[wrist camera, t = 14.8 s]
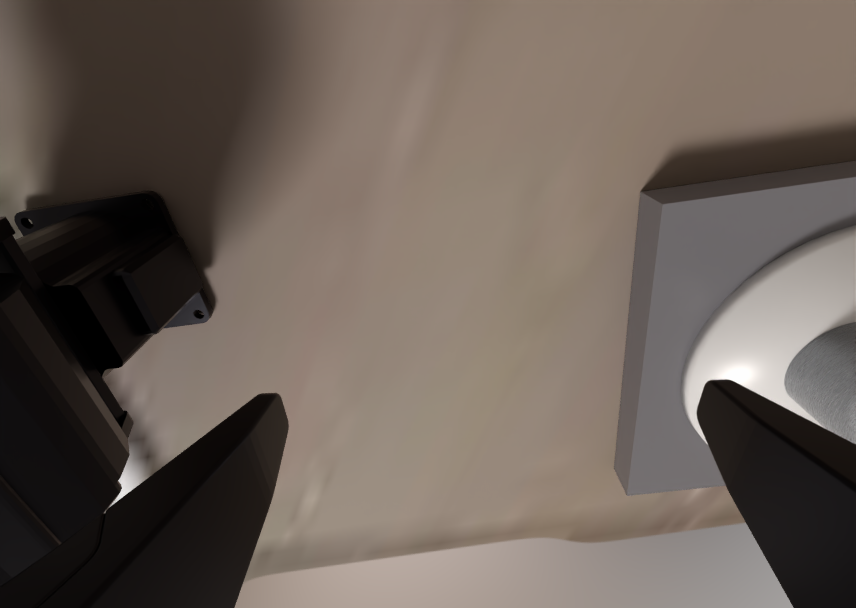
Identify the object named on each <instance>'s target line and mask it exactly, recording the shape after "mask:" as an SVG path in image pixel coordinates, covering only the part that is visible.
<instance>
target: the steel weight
mask: <svg viewBox="0 0 856 608" xmlns="http://www.w3.org/2000/svg"><path fill="white" fill-rule="evenodd" d="M784 386H785V390H786V392H787V394H788V395H789V397H790V398H791V399H793V400H794V401H795V402H796V403H797V404H798V405H799V406H800V407H802V408H803V409H804V410H805V411H806V412H807V413H808V414H809V415H810V416H812V417H813V418H814V419H815V420H816V421H817V422H818V423H819V424H820V425H822V426H823V427H824V428H825V429H827V430H829V431H831V432H833V433H835V434H837V435H839V436H841V437H842V438H844V439H846V440H848V441H850V442H852V443H854V444H856V322H853V323H848V324H845V325H841V326H838V327H836V328H833V329H831V330H829V331H827V332H825V333H823V334H821V335H820V336H818V337H816V338H815V339H814V340H812V341H811V342H809V343H808V344H807V345H806V346H805V347H803V348H802V349H801V350H800V351H799V352H798V354H797V355H796V356H795V357H794V358H793V360H792V361H791V363H790V365H789V367H788V369H787V371H786V374H785V379H784Z"/></svg>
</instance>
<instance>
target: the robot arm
mask: <svg viewBox="0 0 856 608" xmlns="http://www.w3.org/2000/svg"><path fill="white" fill-rule="evenodd" d="M146 199H148V200H150V201H151V202H152V203H153V208H152V207H150V206H149V205H148V204H147V202H146ZM28 219H30V220H31V221H32V222H33V224H31V223H30V222H29V220H28ZM15 223H16V225H17V226H18V228H19V230H20V231H21V233H22V234H23V237H21V238H19V239H16V240H15V239H14V237H13V234H15V231H14V229H13V228H12V226H11V225H10V223H9V221H8V220H7V218H6V217H0V608H234V607H235V604H236V602H237V599H238V596H239V593H240V590H241V587H242V584H243V581H244V579H245V576H246V573H247V570H248V567H249V564H250V561H251V559H252V556H253V553H254V550H255V547H256V544H257V541H258V538H259V536H260V533H261V530H262V527H263V524H264V521H265V518H266V516H267V513H268V510H269V507H270V504H271V501H272V497H273V494H274V490H275V486H276V482H277V477H278V473H279V469H280V464H281V460H282V456H283V451H284V447H285V443H286V438H287V434H288V427H289V424H288V419H287V415H286V412H285V409H284V405H283V402H282V399H281V397H280V395H279V394H277V393H262V394H259V395H257V396H256V397H254V398H253V399H252V400H250V401H249V402H248V403H246V404H245V405H244V406H242V407H241V408H240V409H238V410H237V411H236V412H234V413H233V414H232V415H231V416H229V417H228V418H227V419H225V420H224V421H223V422H221V423H220V424H219V425H217V426H216V427H215V428H213V429H212V430H211V431H209V432H208V433H207V434H206V435H204V436H203V437H202V438H200V439H199V440H198V441H196V442H195V443H194V444H192V445H191V446H190V447H188V448H187V449H186V450H184V451H183V452H182V453H181V454H179V455H178V456H177V457H175V458H174V459H173V460H171V461H170V462H169V463H167V464H166V465H165V466H163V467H162V468H161V469H159V470H158V471H157V472H156V473H154V474H153V475H152V476H150V477H149V478H148V479H146V480H145V481H144V482H142V483H141V484H140V485H138V486H137V487H136V488H134V489H133V490H132V491H131V492H129V493H128V494H127V495H125V496H124V497H123V498H121V499H120V500H119V501H117V502H116V503H115V504H113V505H112V506H111V507H110V505H111V504H112V503H113V501H114V500H115V499H116V498H117V496H118V495H119V493H120V491H121V489H122V487H121V484H120V483H119V482H118V480H119V479H120V477H121V474H122V472H123V470H124V467H125V465H126V462H127V460H128V457H129V445H128V437H129V434H130V431H131V428H132V425H133V420H132V418H131V417H130V415H129V414H128V412H127V411H123V410H122V408H121V407H120V405H119V404H118V402H117V400H116V399H115V397H114V396H113V394H112V392H111V391H110V389H109V388H108V386H107V384H106V383H105V381H104V380H103V379H104V378H105V377H106V376H107V375H108V374H109V373H110V372H111V371H112V370H113V369H114V368H119V367H122V366H123V365H124V364H125V363H126V362H127V361H128V360H129V359H130V358H131V357H132V356H133V355H134V354H135V353H136V352H137V351H138V350H139V349H140V348H141V347H142V346H143V345H144V344H145V343H146V342H147V341H148V340H149V339H150V338H151V337H152V336H153V335H154V334H157V333H159V332H160V331H161V330H162V329H163V328H169V327H177V326H184V325H192V324H199V323H204V322H207V321H208V320H209V318H210V317H211V316H212V313H213V311H212V308H211V306H210V303H209V301H208V299H207V297H206V294H205V292H204V290H203V288H202V286H203V283H202V281H201V279H200V277H199V275H198V272H197V270H196V268H195V266H194V263H193V261H192V259H191V257H190V254H189V252H188V250H187V248H186V245H185V243H184V241H183V239H182V238H181V237H180V236H179V234H178V232H177V230H176V228H175V226H174V223H173V221H172V219H171V217H170V214H169V212H168V210H167V208H166V206H165V203H164V201H163V199H162V198H161V196H159V195H158V194H157V193H155V192H153V191H143V192H136V193H130V194H123V195H117V196H111V197H104V198H98V199H91V200H85V201H78V202H72V203H65V204H59V205H53V206H46V207H40V208H33V209H27V210H25V211H22V212H19V213H17V214H16V215H15ZM197 310H200V311H202V312H203V313H204V315H202V314H200V313H199V312H198V311H197ZM696 414H697V420H698V423H699V425H700V427H701V430H702V432H703V434H704V437H705V439H706V441H707V444H708V446H709V448H710V451H711V453H712V455H713V458H714V460H715V462H716V465H717V467H718V469H719V471H720V474H721V476H722V478H723V481H724V483H725V485H726V487H727V489H728V491H729V493H730V495H731V497H732V498H733V500H734V502H735V504H736V506H737V508H738V509H739V511H740V513H741V515H742V516H743V518H744V520H745V522H746V524H747V525H748V527H749V529H750V531H751V532H752V534H753V536H754V538H755V540H756V541H757V543H758V545H759V547H760V549H761V550H762V552H763V554H764V556H765V557H766V559H767V561H768V563H769V564H770V566H771V568H772V570H773V572H774V573H775V575H776V577H777V579H778V581H779V582H780V584H781V586H782V588H783V589H784V591H785V593H786V595H787V597H788V598H789V600H790V602H791V604H792V605H793V607H794V608H856V444H854V443H852V442H850V441H848V440H846V439H844V438H842V437H841V436H839V435H837V434H835V433H833V432H831V431H829V430H827V429H825V428H823V427H821V426H819V425H817V424H815V423H813V422H812V421H810V420H808V419H806V418H804V417H802V416H800V415H798V414H796V413H794V412H792V411H790V410H788V409H786V408H784V407H783V406H781V405H779V404H777V403H775V402H773V401H771V400H769V399H767V398H765V397H763V396H761V395H759V394H757V393H755V392H754V391H752V390H750V389H748V388H746V387H744V386H742V385H740V384H738V383H736V382H734V381H732V380H728V379H720V380H709V381H707V382H706V383H705V385H704V388H703V391H702V394H701V397H700V401H699V404H698V407H697V413H696Z"/></svg>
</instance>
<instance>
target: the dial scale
mask: <svg viewBox="0 0 856 608" xmlns="http://www.w3.org/2000/svg"><path fill="white" fill-rule="evenodd" d="M853 322H856V161H849V162H842V163H835V164H829V165H822V166H815V167H808V168H801V169H794V170H787V171H780V172H773V173H766V174H759V175H752V176H746V177H739V178H732V179H725V180H718V181H711V182H704V183H697V184H690V185H683V186H676V187H670V188H663V189H656V190H649V191H642V192H640V202H639V212H638V223H637V233H636V244H635V254H634V265H633V275H632V286H631V296H630V307H629V317H628V328H627V338H626V349H625V359H624V370H623V380H622V391H621V401H620V411H619V422H618V432H617V443H616V453H615V464H614V470H615V472H616V474H617V476H618V478H619V480H620V482H621V484H622V486H623V488H624V490H625V493H626V495H627V496H630V495H639V494H649V493H659V492H668V491H678V490H687V489H697V488H707V487H716V486H726V485H725V483H724V481H723V478H722V476H721V474H720V471H719V469H718V467H717V465H716V462H715V460H714V458H713V455H712V453H711V451H710V448H709V446H708V444H707V441H706V439H705V437H704V434H703V432H702V430H701V427H700V425H699V423H698V420H697V414H696V413H697V407H698V404H699V401H700V397H701V394H702V391H703V388H704V385H705V383H706V382H707V381H709V380H720V379H728V380H732V381H734V382H736V383H738V384H740V385H742V386H744V387H746V388H748V389H750V390H752V391H754V392H755V393H757V394H759V395H761V396H763V397H765V398H767V399H769V400H771V401H773V402H775V403H777V404H779V405H781V406H783V407H784V408H786V409H788V410H790V411H792V412H794V413H796V414H798V415H800V416H802V417H804V418H806V419H808V420H810V421H812V422H813V423H815V424H817V425H819V426H821V427H823V426H822V425H820V424H819V423H818V422H817V421H816V420H815V419H814V418H813V417H812V416H810V415H809V414H808V413H807V412H806V411H805V410H804V409H803V408H802V407H800V406H799V405H798V404H797V403H796V402H795V401H794V400H793V399H791V398H790V397H789V395H788V394H787V392H786V390H785V386H784V379H785V374H786V371H787V369H788V367H789V365H790V363H791V361H792V360H793V358H794V357H795V356H796V355H797V354H798V352H799V351H800V350H801V349H802V348H803V347H805V346H806V345H807V344H808V343H809V342H811V341H812V340H814V339H815V338H816V337H818V336H820V335H821V334H823V333H825V332H827V331H829V330H831V329H833V328H836V327H838V326H841V325H845V324H848V323H853ZM823 428H824V427H823Z"/></svg>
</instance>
